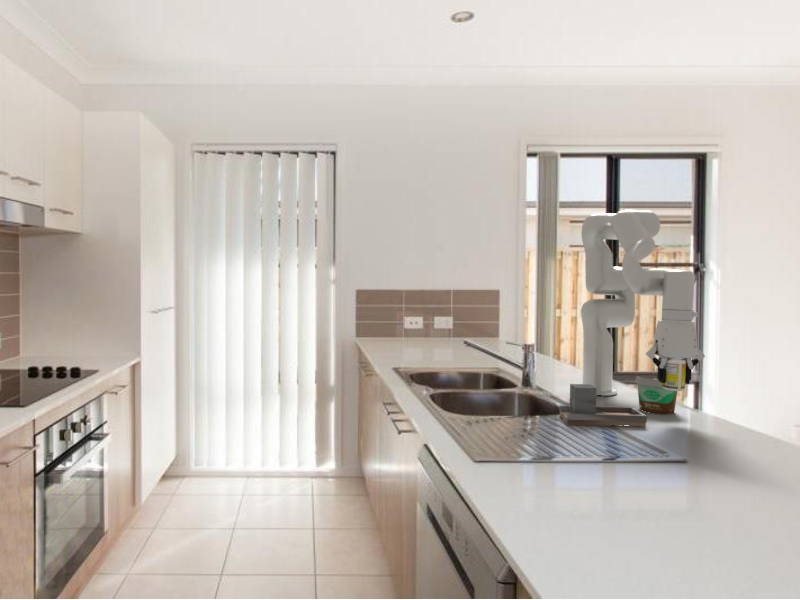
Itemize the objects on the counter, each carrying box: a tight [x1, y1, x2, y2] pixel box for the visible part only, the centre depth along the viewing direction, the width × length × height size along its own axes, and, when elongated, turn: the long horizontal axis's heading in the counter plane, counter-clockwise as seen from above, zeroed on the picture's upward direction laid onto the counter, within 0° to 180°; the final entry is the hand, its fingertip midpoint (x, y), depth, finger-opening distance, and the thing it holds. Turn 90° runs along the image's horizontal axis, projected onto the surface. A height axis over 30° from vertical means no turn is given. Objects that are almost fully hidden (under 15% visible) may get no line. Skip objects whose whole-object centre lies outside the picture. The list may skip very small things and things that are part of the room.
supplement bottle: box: [663, 357, 686, 392], centre depth 162 cm, size 6×6×10 cm
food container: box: [634, 375, 678, 415], centre depth 173 cm, size 12×6×10 cm, turn 62°
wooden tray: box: [558, 383, 648, 428], centre depth 161 cm, size 11×20×10 cm, turn 87°
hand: (673, 381), depth 162 cm, fingers closed on supplement bottle, 5 cm apart
